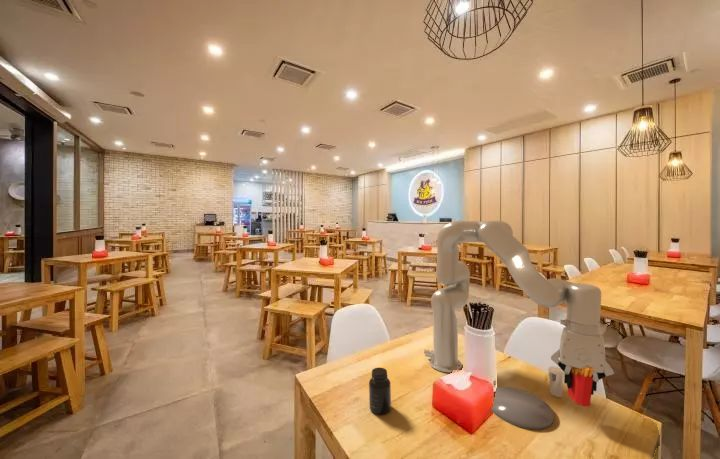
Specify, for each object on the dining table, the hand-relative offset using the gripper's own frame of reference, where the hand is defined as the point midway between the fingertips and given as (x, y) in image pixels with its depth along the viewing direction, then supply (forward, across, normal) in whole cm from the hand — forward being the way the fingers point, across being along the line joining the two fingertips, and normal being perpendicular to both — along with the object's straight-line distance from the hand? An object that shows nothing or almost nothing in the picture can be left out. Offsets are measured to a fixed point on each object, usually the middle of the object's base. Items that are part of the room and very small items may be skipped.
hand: (579, 388), depth 81 cm
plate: (+10, -15, -2) cm, 18 cm away
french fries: (+4, 0, 0) cm, 4 cm away
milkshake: (+11, -4, +13) cm, 17 cm away
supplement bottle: (+12, -52, -25) cm, 59 cm away
